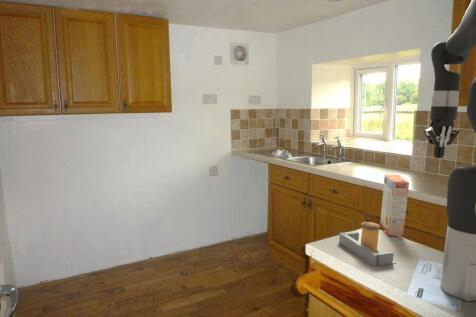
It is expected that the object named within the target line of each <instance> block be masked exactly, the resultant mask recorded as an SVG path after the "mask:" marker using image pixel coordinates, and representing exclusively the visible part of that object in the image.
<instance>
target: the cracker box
mask: <svg viewBox="0 0 476 317" xmlns="http://www.w3.org/2000/svg"><path fill="white" fill-rule="evenodd" d="M409 188H410V182H409V181H407V180H406V178H404V177H402V176H401V175H398V174H384V180H383V192H382V200H381V212H380V223H379V225H380V226H381V227H382V228H383V230H384V231H385V233H386V234H387V236H391V237H392V236H393V237H400V238H401V237H402V238H403V237H404V235H405V234H404V232H405V225H406V224H405V223H406V213H407V206H408V205H407V203H408V195H409Z"/></svg>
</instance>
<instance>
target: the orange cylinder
mask: <svg viewBox="0 0 476 317" xmlns="http://www.w3.org/2000/svg"><path fill="white" fill-rule="evenodd" d="M360 226H361V236H360V238H361V239H360V241H361V244H363V245H364V246H366V247H368V248H369V249H371V250H372V251H374V252H379V250H378V244H379V235H380V233H379V232H380V229H381V227H382V225H381V224H380V223H379V224H378V223H376V222H372V221H363V222H361V223H360Z"/></svg>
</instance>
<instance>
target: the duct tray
mask: <svg viewBox="0 0 476 317" xmlns="http://www.w3.org/2000/svg"><path fill="white" fill-rule="evenodd" d="M338 243H339V244H341V245H342V246H344V247H345V248H346V249H348V250H350V251H351V252H352V253H354V254H355V255H357V256H358V257H360V258H361V259H363V260H364V261H365V262H367V263H369V264H370V265H371V266H372V267H380V266H385V265H394V264H397V262H396V261H395V260H394V252H393V251H391V250H386V251H385V250H384V251H378V252H374V251H372V250H371V249H369V248H368V247H366V246H364V245H363V244H361V239H360V232H359V231H355V230H354V231H346V232H339V237H338Z"/></svg>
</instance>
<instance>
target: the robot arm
mask: <svg viewBox="0 0 476 317" xmlns="http://www.w3.org/2000/svg"><path fill="white" fill-rule="evenodd" d="M475 47H476V0H471V1H470V3H469V5H468V7H467V9H466V11H465V13H464V15H463V16H462V19H461V21H460V22H459V25H458V27H457V28H456V29H455V30H454V32H453V33H452V34H451V35H450V36H448V39H447V40H446V41H438V42H436V44H434V45H433V47H432V49H431V52H430V54H431V55H430V57H431V62H432V66H433V73H434V85H433V93H432V98H431V106H430V112H429V114H430V115H429V119H430V120H431V122H430V124H429V127H428V129H423V133H424V137H425V138H426V139H427V141H428V143H429V145H432V146H433V147H434V151H433V156H434V159H435V158H436V159H443V158H444V156H445V150H446V147H447V146H450V145H452V143H453V142H454V140H456V138H457V136H458V135H459V133H460V130H459V129H456V128H455V123H454V122H455V121H456V120H457V118H458V108H459V102H460V101H459V99H460V95H459V92H460V85H461V84H460V82H461V74H460V73H459V72H456V71H451V70H448V69H447V68H446V66H445V65H462V64H464V63H466V62H468V59H470V58H469V57H470V53H471V51H472V50H473V49H474V48H475ZM467 96H468V97H467V104H466V115H467V118H468V121H469V123H470V125H471V128H472V129H473V132H474V134H476V76H475V77H474V78H473V80H472V81H471V83H470V85H469V89H468V95H467ZM445 209H446V216H447V224H446V225H447V226H446V234H445V242H444V251H443V259H442V268H441V276H440V288H441V289H442V291H444V292H445V293H446V294H448V295H450V296H453V297H455V298H458V299H461V300H464V301H466V302H473V301H476V165H461V166H457V167H455V168H454V169H452V171H451V173H450V174H449V177H448V183H447V195H446V208H445Z"/></svg>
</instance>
